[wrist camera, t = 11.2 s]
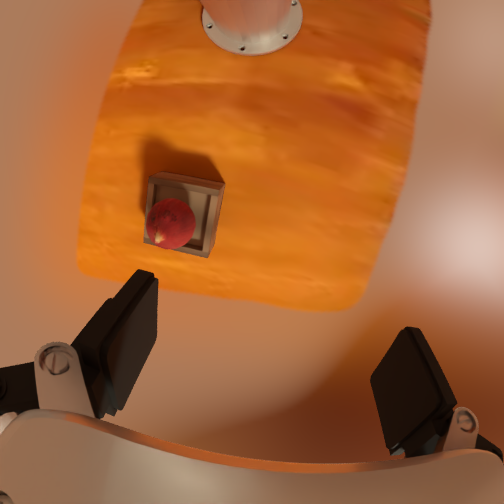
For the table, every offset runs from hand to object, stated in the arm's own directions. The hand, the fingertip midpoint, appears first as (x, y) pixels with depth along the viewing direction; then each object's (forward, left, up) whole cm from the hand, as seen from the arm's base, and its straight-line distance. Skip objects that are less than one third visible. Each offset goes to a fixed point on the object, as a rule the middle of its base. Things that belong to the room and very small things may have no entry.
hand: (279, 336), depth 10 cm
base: (+6, -11, -28) cm, 31 cm away
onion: (+6, -11, -26) cm, 28 cm away
